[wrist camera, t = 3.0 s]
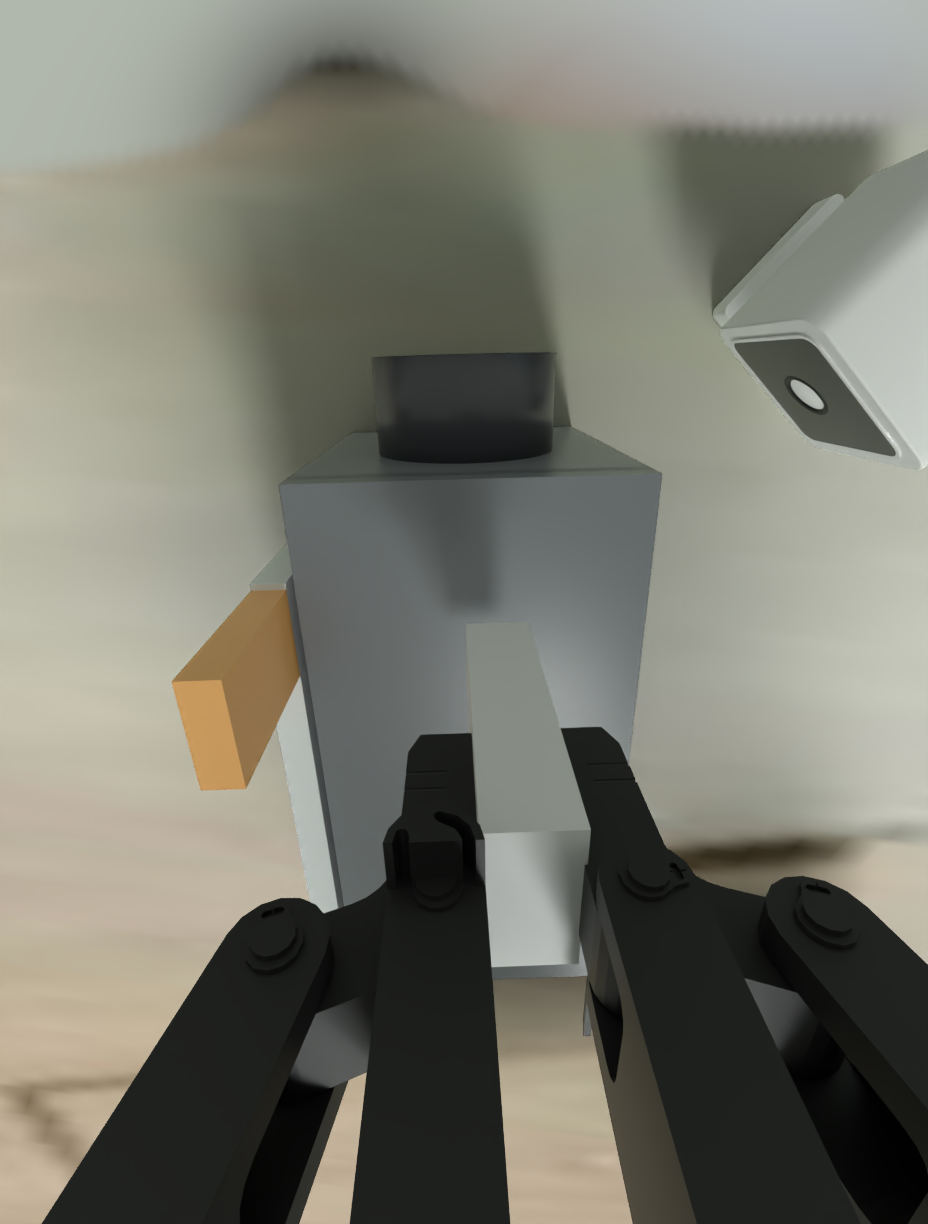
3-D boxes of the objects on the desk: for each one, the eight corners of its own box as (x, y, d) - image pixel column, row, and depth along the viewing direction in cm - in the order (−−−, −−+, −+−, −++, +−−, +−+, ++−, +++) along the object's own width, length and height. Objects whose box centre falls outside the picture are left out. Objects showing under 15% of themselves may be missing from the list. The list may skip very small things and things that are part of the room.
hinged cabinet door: (376, 754, 32) (314, 1089, 17) (357, 755, 32) (278, 1091, 17) (349, 497, 26) (218, 671, 11) (325, 498, 26) (164, 673, 11)
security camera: (675, 335, 24) (810, 318, 15) (812, 189, 22) (1063, 69, 13) (761, 437, 26) (929, 477, 17) (896, 311, 24) (1167, 279, 15)
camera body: (554, 776, 34) (604, 975, 23) (386, 782, 34) (356, 984, 23) (575, 354, 25) (676, 346, 14) (344, 360, 24) (258, 357, 13)
